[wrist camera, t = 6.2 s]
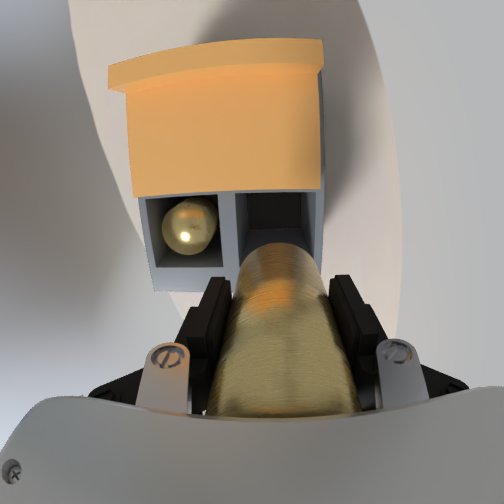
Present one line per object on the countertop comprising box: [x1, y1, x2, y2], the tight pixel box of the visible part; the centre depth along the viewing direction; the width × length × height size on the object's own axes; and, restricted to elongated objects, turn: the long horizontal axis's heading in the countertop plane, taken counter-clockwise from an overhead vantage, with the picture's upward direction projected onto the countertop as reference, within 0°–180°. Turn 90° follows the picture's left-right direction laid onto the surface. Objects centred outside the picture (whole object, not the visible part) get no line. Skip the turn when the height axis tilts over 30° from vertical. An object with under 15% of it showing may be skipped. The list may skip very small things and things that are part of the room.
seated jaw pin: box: [162, 194, 220, 255], centre depth 25 cm, size 4×4×9 cm
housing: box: [138, 70, 325, 293], centre depth 23 cm, size 18×14×10 cm
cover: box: [108, 38, 324, 198], centre depth 15 cm, size 9×12×4 cm
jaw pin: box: [205, 243, 363, 418], centre depth 9 cm, size 4×4×9 cm
